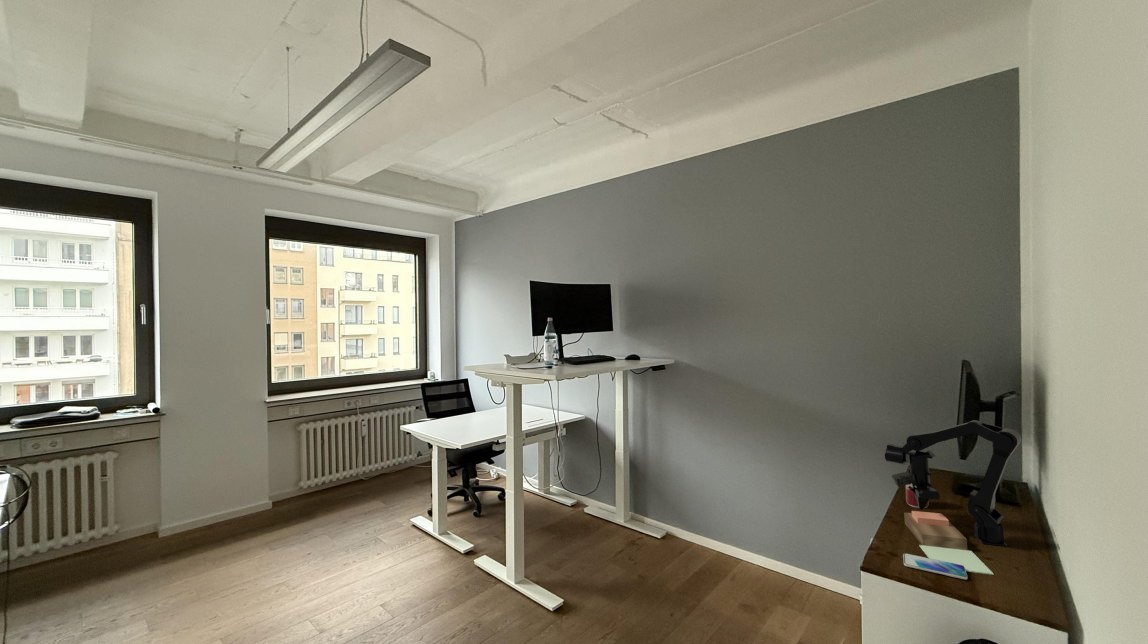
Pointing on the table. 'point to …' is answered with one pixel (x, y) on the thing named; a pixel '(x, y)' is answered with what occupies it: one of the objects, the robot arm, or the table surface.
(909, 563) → the smartphone
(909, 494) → the soda can
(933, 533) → the tan flat slab
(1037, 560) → the table surface
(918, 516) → the block
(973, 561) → the mat
